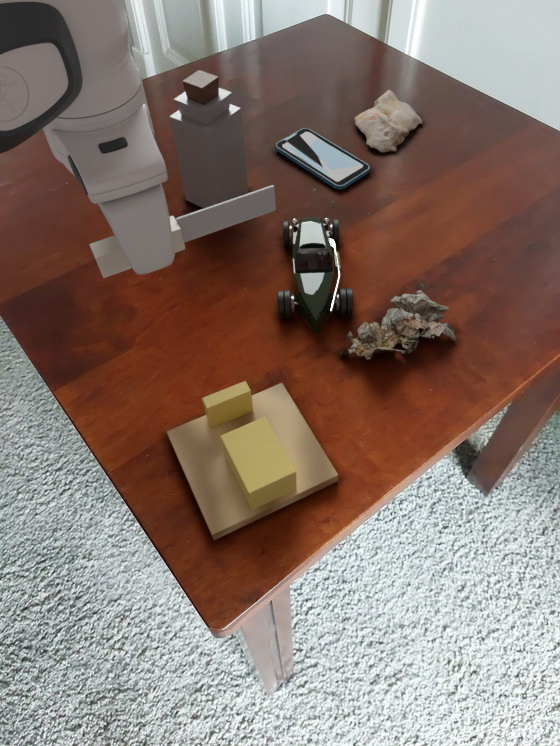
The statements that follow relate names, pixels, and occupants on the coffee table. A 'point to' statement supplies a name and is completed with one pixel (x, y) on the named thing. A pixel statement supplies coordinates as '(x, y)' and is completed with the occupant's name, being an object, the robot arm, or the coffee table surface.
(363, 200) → the coffee table surface
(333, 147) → the smartphone
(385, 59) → the coffee table surface
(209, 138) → the perfume bottle
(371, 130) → the stone
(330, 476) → the butter board
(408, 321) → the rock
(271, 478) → the butter
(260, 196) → the knife
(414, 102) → the coffee table surface
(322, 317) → the toy car
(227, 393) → the butter slice
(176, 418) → the coffee table surface
